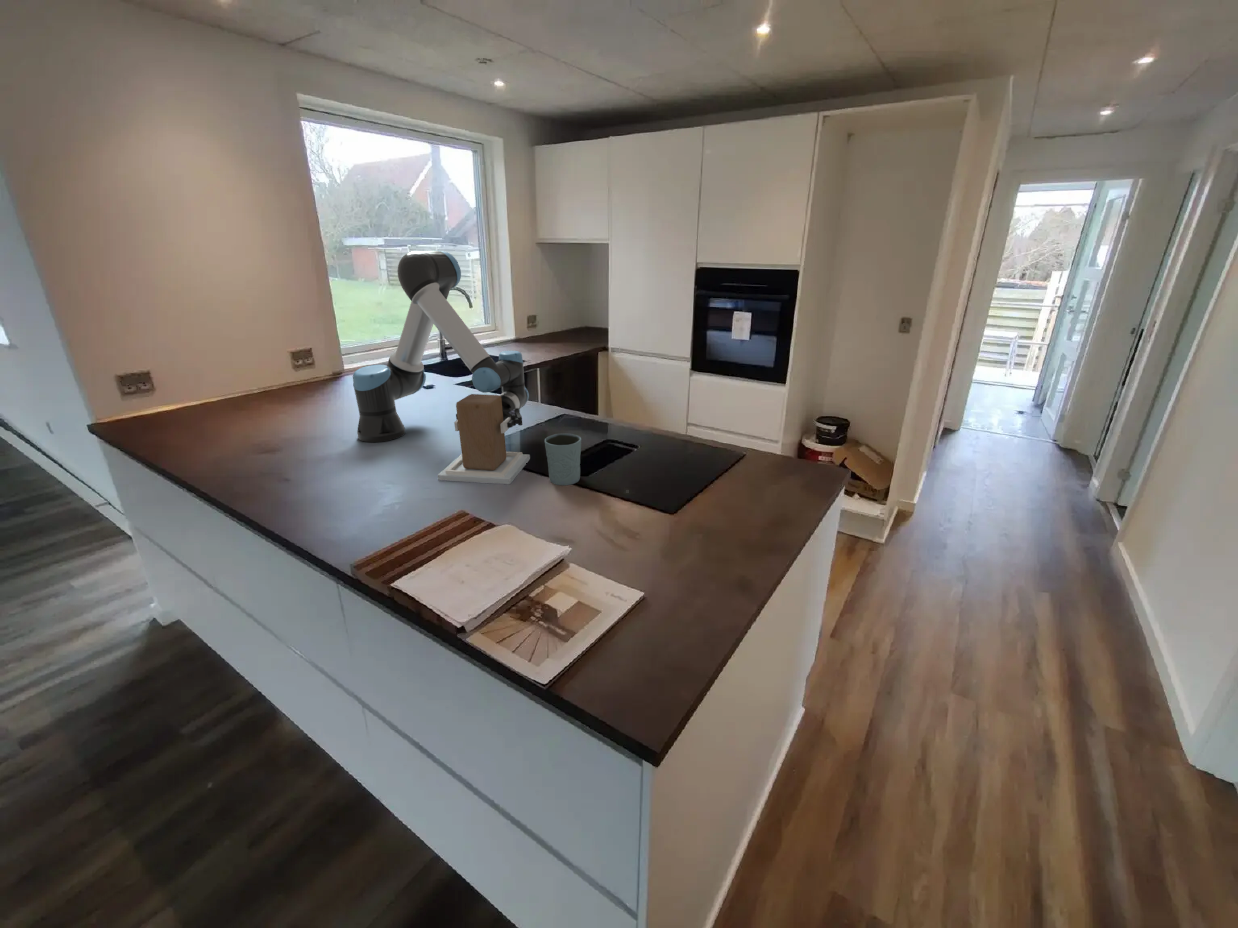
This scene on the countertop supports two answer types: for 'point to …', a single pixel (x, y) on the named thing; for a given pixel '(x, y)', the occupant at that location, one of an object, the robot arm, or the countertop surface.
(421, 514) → the countertop surface
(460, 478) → the baseplate
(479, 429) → the wooden block
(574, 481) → the teal cup
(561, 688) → the countertop surface
